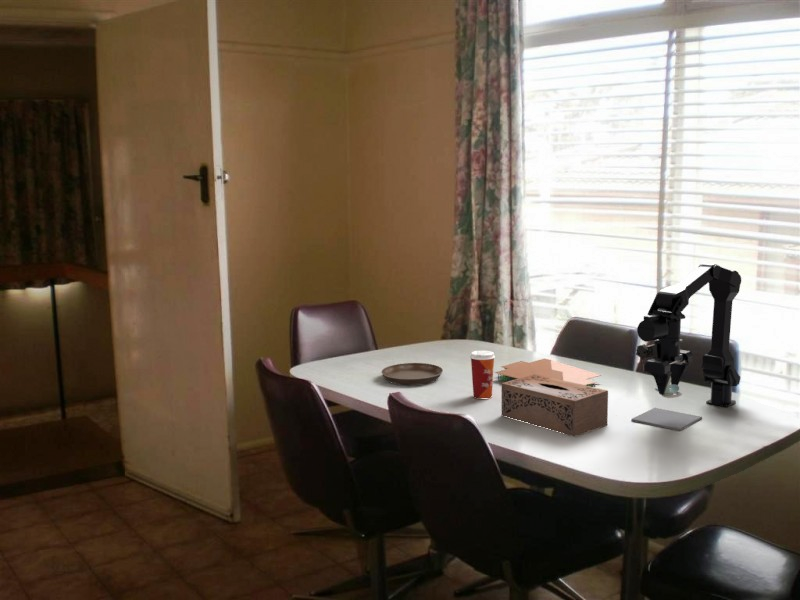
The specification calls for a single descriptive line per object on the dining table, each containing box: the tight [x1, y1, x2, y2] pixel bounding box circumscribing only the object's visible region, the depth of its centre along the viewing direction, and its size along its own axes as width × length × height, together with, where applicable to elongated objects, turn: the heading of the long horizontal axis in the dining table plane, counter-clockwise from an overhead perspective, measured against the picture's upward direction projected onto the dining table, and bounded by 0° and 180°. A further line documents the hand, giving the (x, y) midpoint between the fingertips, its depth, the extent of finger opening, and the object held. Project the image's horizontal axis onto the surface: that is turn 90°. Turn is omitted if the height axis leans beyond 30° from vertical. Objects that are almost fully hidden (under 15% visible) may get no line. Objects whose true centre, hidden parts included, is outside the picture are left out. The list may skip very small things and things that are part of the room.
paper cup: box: [469, 350, 496, 399], centre depth 261 cm, size 8×8×14 cm
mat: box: [631, 407, 703, 431], centre depth 236 cm, size 14×14×1 cm
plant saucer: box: [381, 362, 444, 386], centre depth 286 cm, size 21×21×3 cm
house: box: [494, 358, 602, 387], centre depth 277 cm, size 23×33×8 cm
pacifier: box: [654, 376, 683, 399], centre depth 233 cm, size 7×6×6 cm
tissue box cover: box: [501, 374, 609, 437], centre depth 237 cm, size 26×14×10 cm, turn 41°
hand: (667, 391), depth 234 cm, fingers closed on pacifier, 7 cm apart
